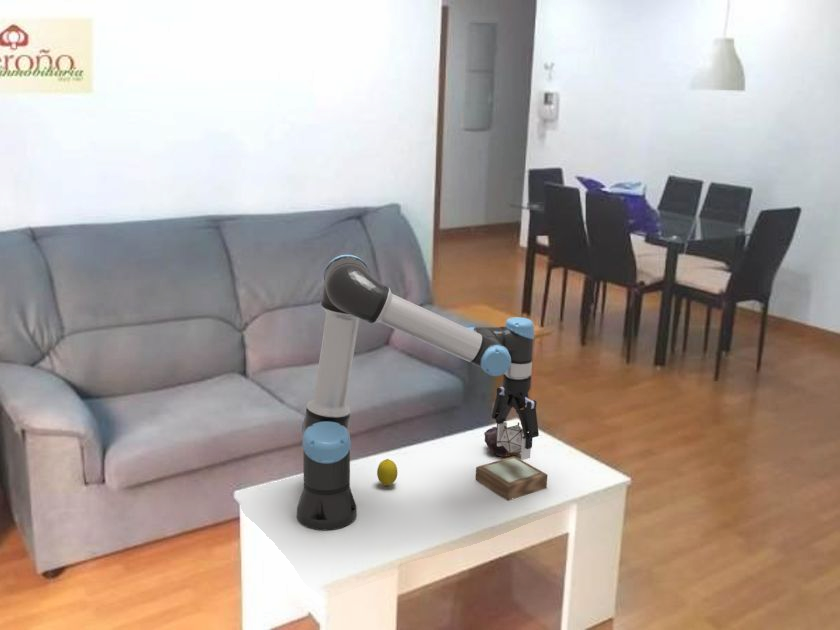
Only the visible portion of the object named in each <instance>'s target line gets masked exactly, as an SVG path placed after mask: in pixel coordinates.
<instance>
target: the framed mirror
mask: <svg viewBox="0 0 840 630" xmlns="http://www.w3.org/2000/svg"><path fill="white" fill-rule="evenodd" d="M475 481H476V482H477V483H479V484H481V485H483V486H484V487H485V488H487V489H488V490H491V491H492V492H494V493H495V494H497V495H498V494H499V496H500V497H502V498H503V497H504V498H503V499H505V498H506V499H507V500H506V499H505V500H506V501H510V500H512V498H513V499H515V498H519V496H520V497H522V496H526V495H528V494H531V493H535V492H538V491H541V490H544V489H547V487H548V474H547V473H545V472H544V471H542V470H540V469H538V468H537V467H535V466H533V465H531V464H529V463H527V462H526V461H524V460H522V459H521V458H519V457H517V456H515V455H512V456H508V457H506V458H503V459H499V460H495V461H492V462H489V463H486V464H483V465H479V466H476V467H475Z"/></svg>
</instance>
